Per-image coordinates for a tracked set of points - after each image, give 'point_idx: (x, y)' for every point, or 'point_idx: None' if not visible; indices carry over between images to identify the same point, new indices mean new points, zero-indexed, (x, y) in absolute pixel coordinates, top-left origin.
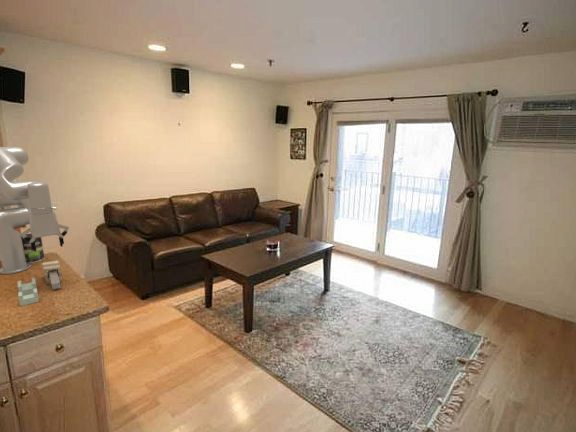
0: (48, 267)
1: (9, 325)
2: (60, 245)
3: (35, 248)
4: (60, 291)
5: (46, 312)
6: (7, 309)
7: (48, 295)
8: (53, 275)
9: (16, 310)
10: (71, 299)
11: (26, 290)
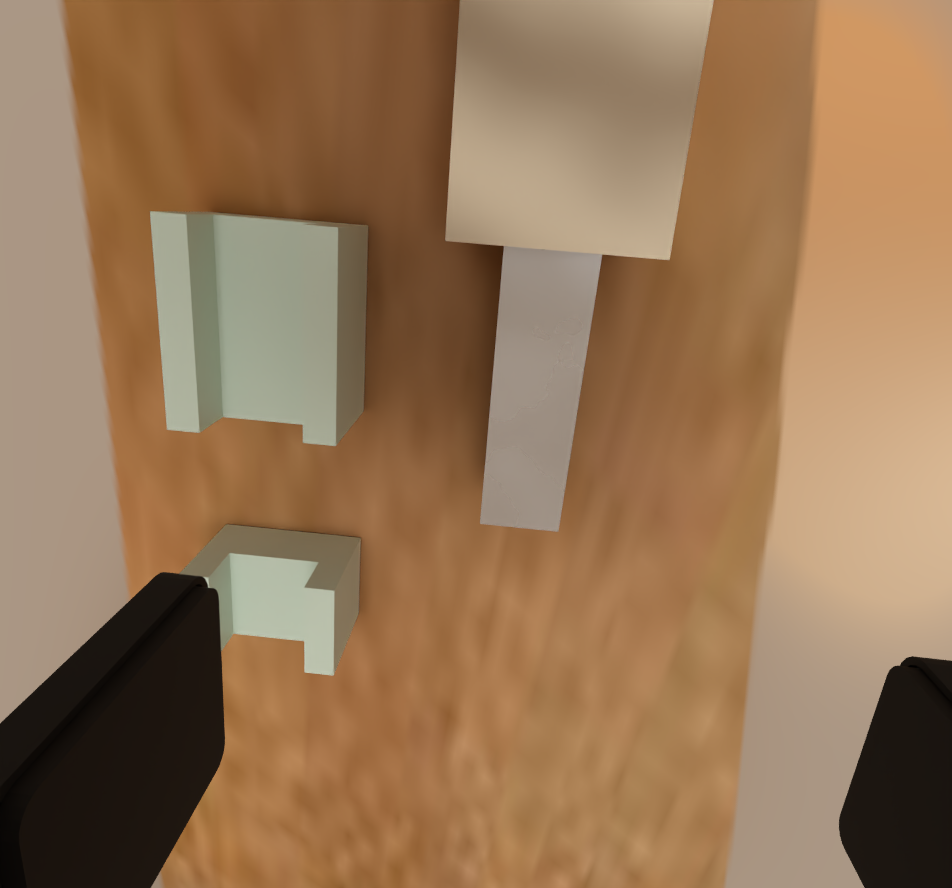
0: (517, 189)
1: None
2: (865, 778)
3: (177, 820)
4: None
5: (384, 811)
6: None
7: (437, 544)
8: (537, 355)
9: None
10: (570, 739)
11: (261, 417)
